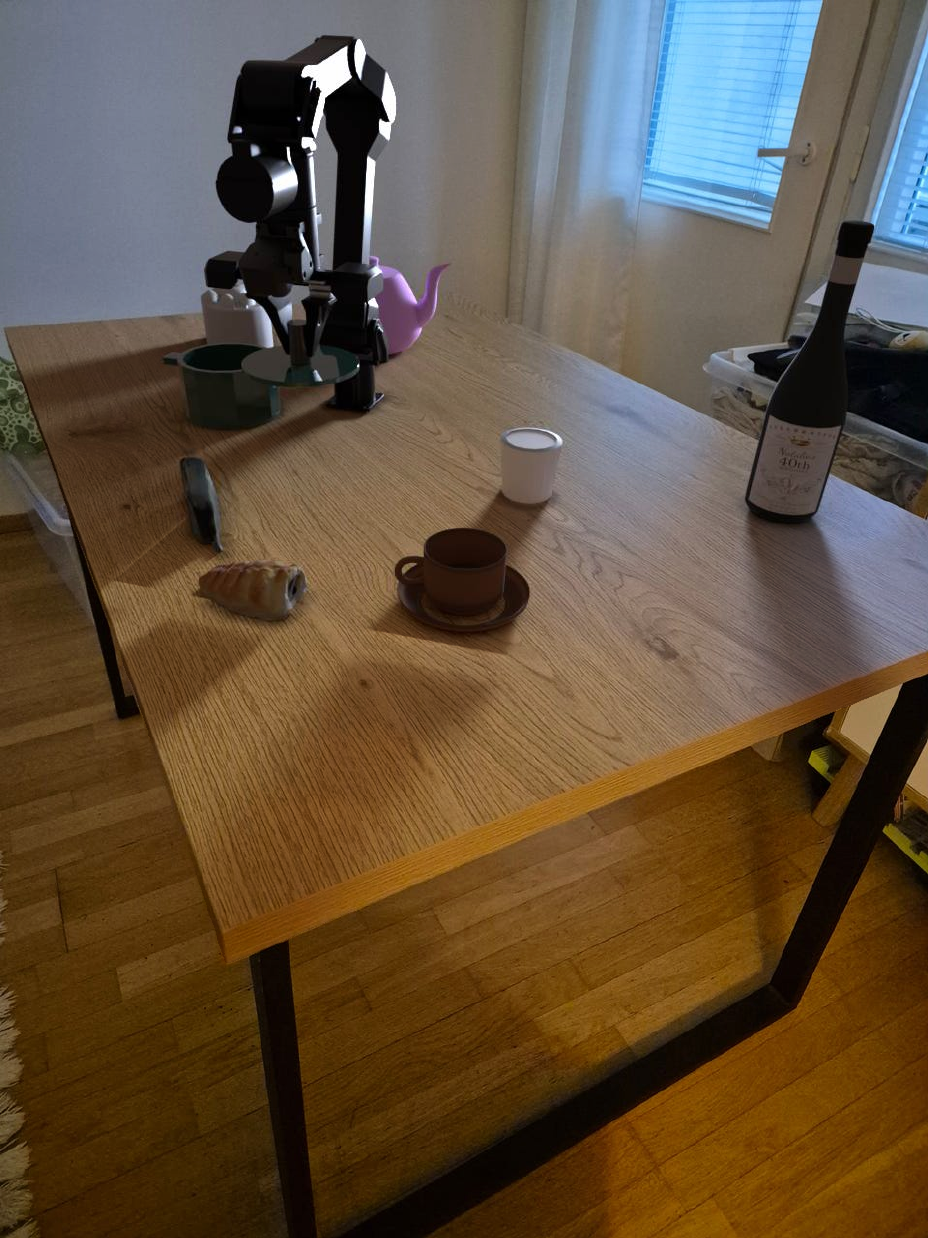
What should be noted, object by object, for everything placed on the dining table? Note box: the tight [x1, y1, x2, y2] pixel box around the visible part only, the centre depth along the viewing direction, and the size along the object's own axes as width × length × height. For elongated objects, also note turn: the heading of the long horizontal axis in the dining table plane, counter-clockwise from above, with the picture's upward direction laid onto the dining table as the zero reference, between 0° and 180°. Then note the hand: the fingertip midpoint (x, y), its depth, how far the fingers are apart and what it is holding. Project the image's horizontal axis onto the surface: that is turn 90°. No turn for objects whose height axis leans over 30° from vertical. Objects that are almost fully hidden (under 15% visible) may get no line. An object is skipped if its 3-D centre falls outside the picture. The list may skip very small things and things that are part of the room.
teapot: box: [369, 255, 452, 356], centre depth 137 cm, size 22×22×14 cm
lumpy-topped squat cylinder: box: [200, 283, 274, 348], centre depth 136 cm, size 10×13×9 cm
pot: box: [162, 343, 282, 430], centre depth 112 cm, size 12×18×8 cm
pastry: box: [198, 557, 308, 622], centre depth 76 cm, size 9×7×4 cm
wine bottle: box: [744, 219, 875, 524], centre depth 87 cm, size 8×8×30 cm
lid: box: [241, 319, 360, 389], centre depth 96 cm, size 13×13×6 cm
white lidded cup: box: [499, 427, 563, 505], centre depth 95 cm, size 7×7×7 cm
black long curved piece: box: [179, 456, 224, 554], centre depth 87 cm, size 5×3×15 cm
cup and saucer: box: [394, 527, 531, 633], centre depth 76 cm, size 12×12×6 cm
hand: (300, 354), depth 97 cm, fingers closed on lid, 2 cm apart
